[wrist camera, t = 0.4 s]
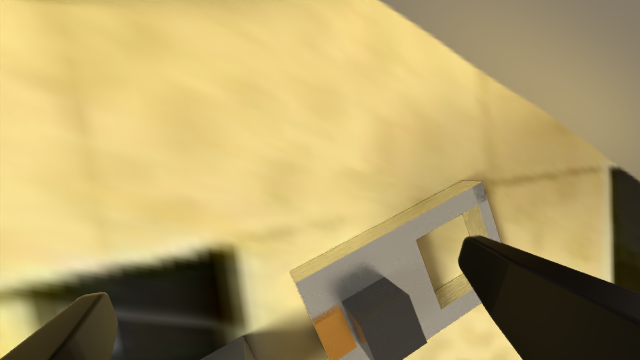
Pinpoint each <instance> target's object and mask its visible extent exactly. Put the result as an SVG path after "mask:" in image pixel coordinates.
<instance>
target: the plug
mask: <svg viewBox="0 0 640 360" xmlns="http://www.w3.org/2000/svg"><path fill="white" fill-rule="evenodd" d="M200 360H255V358H254V356H253V354H252V352H251V350H250V348H249V346H248V344H247V342H246V340H245V338H244V336H241V337H239V338H238V339H236V340H234V341H232V342H231V343H229V344H227V345H225V346H224V347H222V348H220V349H218V350H216V351H215V352H213V353H211V354H209V355H208V356H206V357H204V358H202V359H200Z"/></svg>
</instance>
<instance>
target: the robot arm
mask: <svg viewBox="0 0 640 360" xmlns="http://www.w3.org/2000/svg"><path fill="white" fill-rule="evenodd" d="M458 264H459V267H460V269H461V271H462V272H463V274H464V275H465V277H466V279H467V280H468V282H469V283H470V285H471V287H472V288H473V290H474V291H475V293H476V295H477V296H478V298H479V299H480V301H481V302H482V304H483V306H484V307H485V309H486V310H487V312H488V313H489V315H490V316H491V318H492V319H493V321H494V322H495V323H496V325H497V326H498V327H499V329H500V330H501V331H502V333H503V334H504V335H505V337H506V338H507V339H508V341H509V342H510V343H511V345H512V346H513V347H514V349H515V350H516V351H517V353H518V354H519V355H520V357H521V358H522V359H523V360H640V293H637V292H635V291H632V290H629V289H626V288H624V287H621V286H618V285H616V284H613V283H610V282H607V281H605V280H602V279H599V278H596V277H594V276H591V275H588V274H585V273H583V272H580V271H577V270H574V269H572V268H569V267H566V266H563V265H561V264H558V263H555V262H552V261H550V260H547V259H544V258H541V257H539V256H536V255H533V254H531V253H528V252H525V251H522V250H520V249H517V248H514V247H511V246H509V245H506V244H503V243H500V242H498V241H495V240H492V239H489V238H487V237H484V236H481V235H475V236H468V237H466V238H465V239H464V241H463V244H462V248H461V251H460V255H459V258H458ZM117 328H118V322H117V317H116V315H115V312H114V309H113V306H112V303H111V300H110V298H109V296H108V294H107V293H104V292H101V293H95V294H88V295H84V296H81V297H80V298H78V299H77V300H76V301H75V302H73V303H72V304H71V305H69V306H68V307H67V308H66V309H64V310H63V311H62V312H60V313H59V314H58V315H56V316H55V317H54V318H53V319H51V320H50V321H49V322H47V323H46V324H45V325H44V326H42V327H41V328H40V329H38V330H37V331H36V332H35V333H33V334H32V335H31V336H29V337H28V338H27V339H26V340H24V341H23V342H22V343H20V344H19V345H18V346H17V347H15V348H14V349H13V350H11V351H10V352H9V353H7V354H6V355H5V356H4V357H2V358H1V359H0V360H111V355H112V351H113V347H114V342H115V338H116V334H117Z"/></svg>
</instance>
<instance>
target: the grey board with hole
mask: <svg viewBox="0 0 640 360" xmlns="http://www.w3.org/2000/svg"><path fill="white" fill-rule="evenodd" d="M462 213H463V216H464V219H465V222H466V225H467V228H468V232H469V235H470V236H475V235H481V236H484V237H487V238H489V239H492V240H495V241H498V242H500V243H501V241H500V238H499V235H498V232H497V228H496V225H495V222H494V219H493V215H492V212H491V209H490V206H489V202H488V199H487V196H486V193H485V189H484V186H483V183H482V182H478V181H464V180H462V181H460V182H459V183H457V184H455V185H453V186H451V187H449V188H447V189H445V190H443V191H442V192H440V193H438V194H436V195H434V196H432V197H430V198H428V199H426V200H425V201H423V202H421V203H419V204H417V205H415V206H413V207H411V208H409V209H408V210H406V211H404V212H402V213H400V214H398V215H396V216H394V217H392V218H390V219H389V220H387V221H385V222H383V223H381V224H379V225H377V226H375V227H373V228H372V229H370V230H368V231H366V232H364V233H362V234H360V235H358V236H356V237H355V238H353V239H351V240H349V241H347V242H345V243H343V244H341V245H339V246H338V247H336V248H334V249H332V250H330V251H328V252H326V253H324V254H322V255H321V256H319V257H317V258H315V259H313V260H311V261H309V262H307V263H305V264H304V265H302V266H300V267H298V268H296V269H294V270H292V271H290V272H289V273H290V275H291V277H292V279H293V282H294V284H295V286H296V288H297V290H298V293H299V295H300V297H301V299H302V302H303V304H304V306H305V308H306V310H307V313H308V315H309V317H310V319H311V322H312V324H313V326H314V328H315V330H316V333H317V335H318V337H319V339H320V341H321V344H322V346H323V348H324V350H325V353H326V355H327V357H328V359H329V360H403V359H404V358H406V357H407V356H408V355H410V354H411V353H413V352H414V351H416V350H417V349H419V348H420V347H422V346H423V345H425V344H426V343H427V341H426V340H428V339H429V338H431V337H432V336H434V335H435V334H437V333H438V332H440V331H441V330H442V329H444V328H445V327H447V326H448V325H450V324H451V323H453V322H454V321H456V320H457V319H459V318H460V317H462V316H463V315H465V314H466V313H468V312H469V311H470V310H472V309H473V308H475V307H476V306H478V305H479V304H481V303H482V302H481V301H480V299H479V298H478V296H477V295H476V293H475V291H474V290H473V288H472V287H471V285H470V283H469V282H468V280H467V279H466V277H465V275H464V274H462V275H460V276H459V277H457V278H456V279H454V280H452V281H451V282H449V283H448V284H446V285H444V286H443V287H441V288H440V289H438V290H437V291H435V292H434V289H433V286H432V284H431V281H430V278H429V275H428V273H427V270H426V267H425V264H424V261H423V259H422V256H421V253H420V250H419V248H418V245H417V242H416V239H418V238H420V237H422V236H424V235H425V234H427V233H429V232H431V231H432V230H434V229H436V228H438V227H439V226H441V225H443V224H445V223H447V222H448V221H450V220H452V219H454V218H455V217H457V216H459V215H461V214H462Z"/></svg>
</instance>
